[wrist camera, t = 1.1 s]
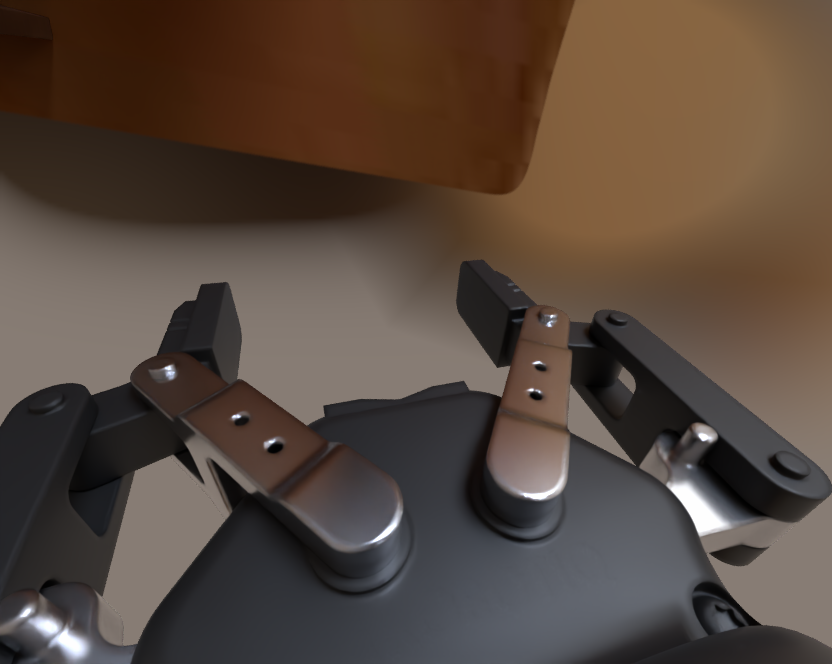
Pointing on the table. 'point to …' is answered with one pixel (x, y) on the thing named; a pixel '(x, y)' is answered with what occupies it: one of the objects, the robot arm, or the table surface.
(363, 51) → the table surface
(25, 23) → the shelf
